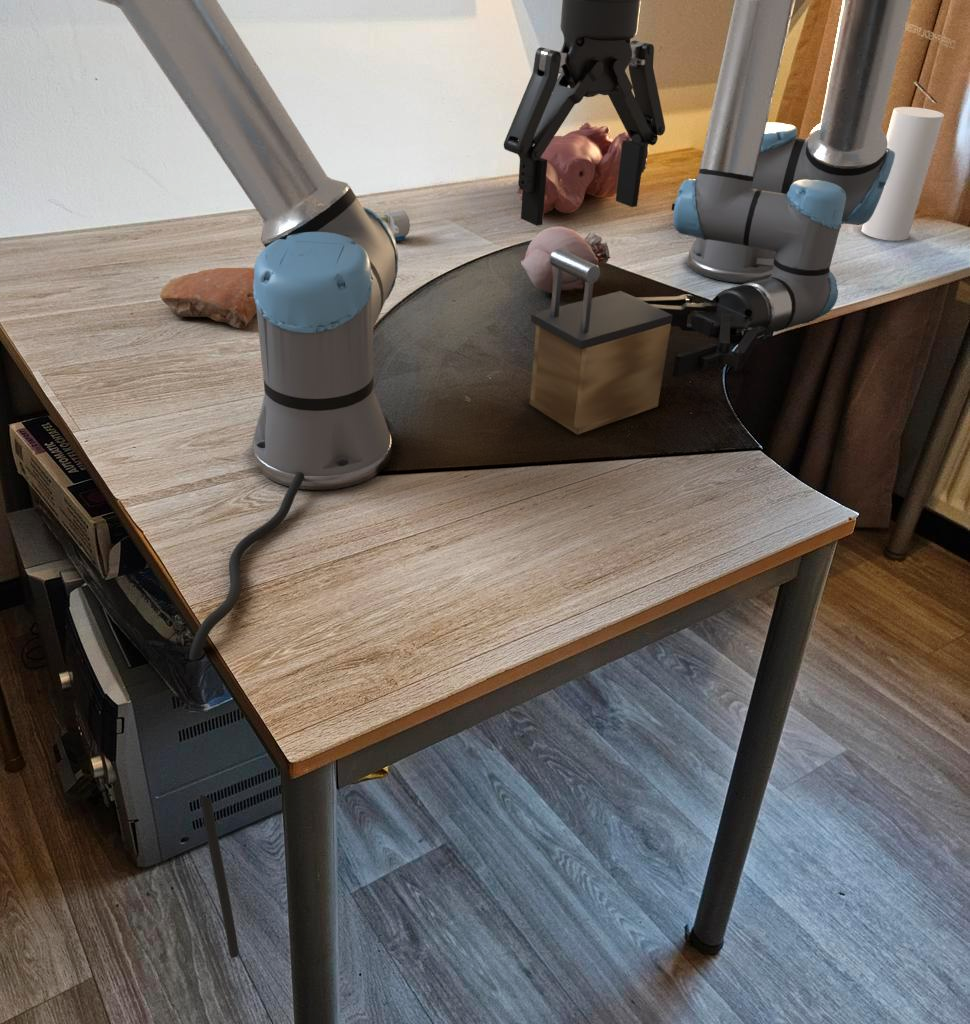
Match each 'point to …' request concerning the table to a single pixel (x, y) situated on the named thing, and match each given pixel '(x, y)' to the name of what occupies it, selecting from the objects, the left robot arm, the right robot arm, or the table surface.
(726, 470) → the table surface
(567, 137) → the reddish clay figurine
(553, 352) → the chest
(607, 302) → the lid
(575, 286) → the toy
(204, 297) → the ceramic shard
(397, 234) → the electric motor
